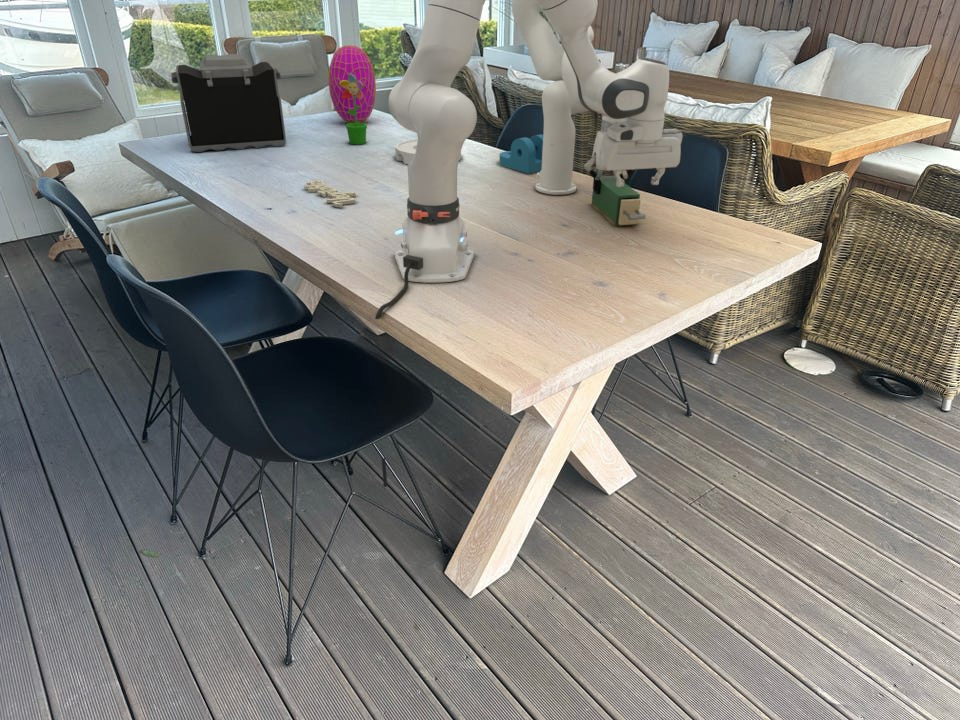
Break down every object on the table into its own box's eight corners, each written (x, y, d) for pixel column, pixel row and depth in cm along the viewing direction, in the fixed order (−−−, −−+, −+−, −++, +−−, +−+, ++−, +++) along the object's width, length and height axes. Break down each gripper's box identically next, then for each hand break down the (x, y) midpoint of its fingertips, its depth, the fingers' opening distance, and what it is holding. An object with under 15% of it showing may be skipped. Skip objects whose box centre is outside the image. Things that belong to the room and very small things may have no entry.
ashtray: (454, 167, 232) (454, 155, 230) (388, 164, 235) (387, 152, 233) (466, 151, 252) (466, 140, 250) (404, 148, 255) (404, 137, 253)
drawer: (645, 230, 179) (648, 206, 176) (627, 231, 178) (630, 207, 175) (613, 204, 198) (616, 181, 195) (597, 205, 197) (599, 182, 194)
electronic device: (283, 133, 274) (272, 51, 259) (291, 146, 256) (280, 59, 241) (185, 140, 262) (168, 54, 247) (186, 153, 245) (167, 62, 229)
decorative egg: (362, 116, 305) (357, 42, 290) (386, 123, 292) (382, 46, 277) (324, 121, 294) (316, 45, 279) (347, 129, 281) (340, 49, 266)
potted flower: (342, 144, 260) (336, 73, 247) (351, 139, 266) (346, 70, 254) (365, 146, 257) (360, 74, 245) (374, 141, 264) (369, 71, 251)
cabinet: (636, 224, 186) (640, 194, 181) (614, 226, 184) (618, 195, 180) (611, 203, 201) (614, 175, 197) (591, 204, 200) (594, 176, 196)
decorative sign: (368, 198, 199) (337, 205, 193) (368, 202, 199) (337, 208, 194) (326, 178, 217) (297, 183, 211) (326, 181, 217) (297, 186, 212)
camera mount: (550, 168, 233) (552, 137, 227) (527, 173, 227) (529, 141, 222) (515, 157, 245) (516, 127, 239) (493, 162, 239) (493, 131, 234)
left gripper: (677, 125, 173) (669, 180, 180) (600, 128, 169) (595, 184, 176) (689, 131, 167) (680, 187, 174) (610, 134, 164) (604, 191, 171)
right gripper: (639, 123, 190) (631, 187, 199) (580, 125, 187) (574, 190, 196) (650, 128, 184) (642, 194, 193) (589, 131, 181) (583, 198, 190)
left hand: (637, 185), depth 175 cm, fingers open, 8 cm apart
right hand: (608, 191), depth 194 cm, fingers closed on cabinet, 6 cm apart
